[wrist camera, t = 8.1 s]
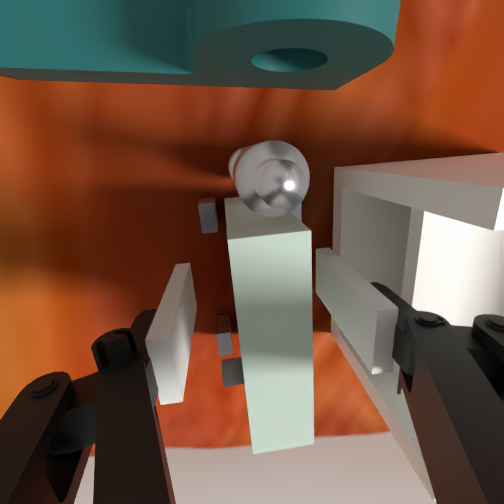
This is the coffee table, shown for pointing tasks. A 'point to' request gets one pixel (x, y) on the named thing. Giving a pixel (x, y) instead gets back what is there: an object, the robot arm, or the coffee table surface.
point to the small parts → (260, 196)
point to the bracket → (197, 41)
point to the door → (272, 325)
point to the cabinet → (421, 254)
